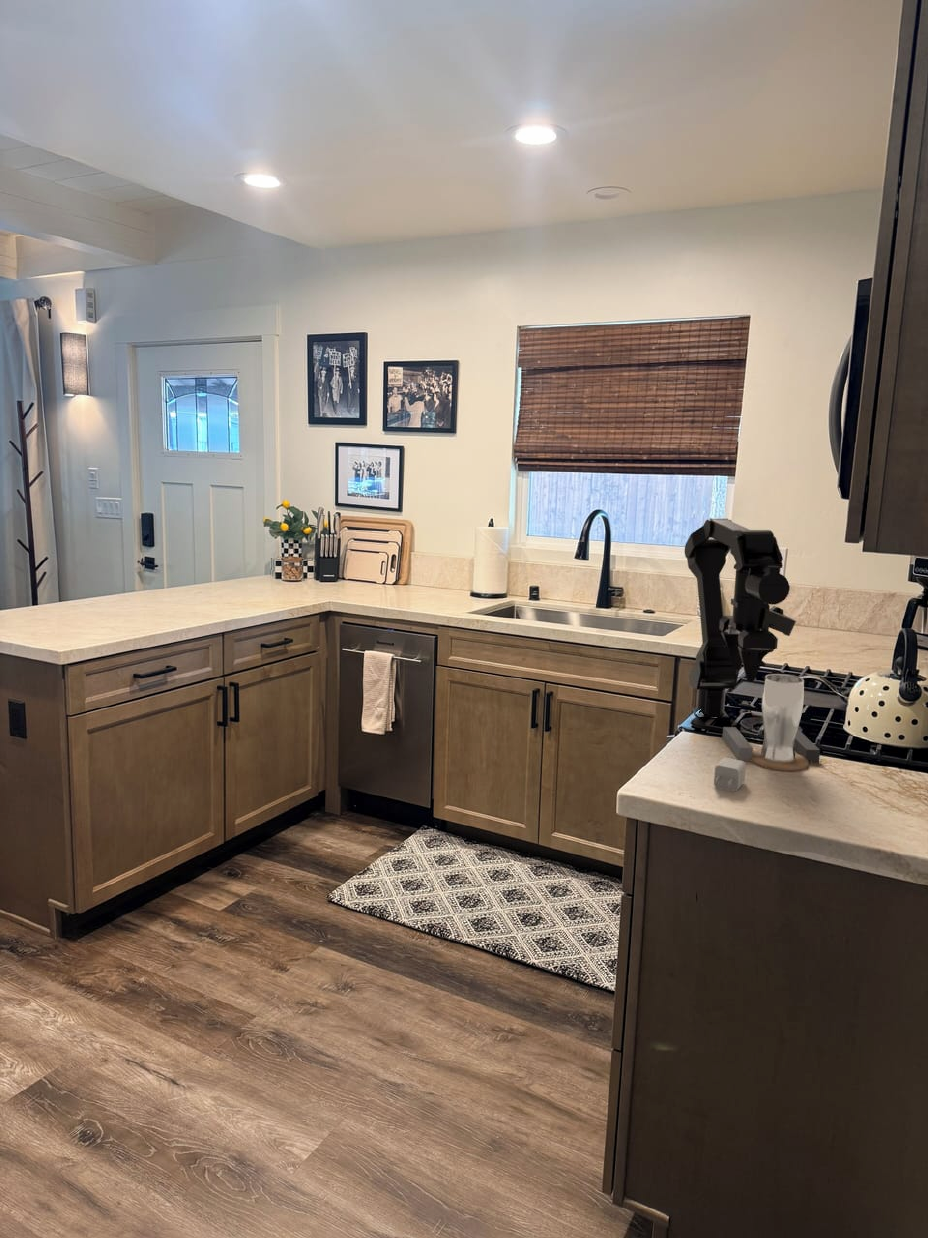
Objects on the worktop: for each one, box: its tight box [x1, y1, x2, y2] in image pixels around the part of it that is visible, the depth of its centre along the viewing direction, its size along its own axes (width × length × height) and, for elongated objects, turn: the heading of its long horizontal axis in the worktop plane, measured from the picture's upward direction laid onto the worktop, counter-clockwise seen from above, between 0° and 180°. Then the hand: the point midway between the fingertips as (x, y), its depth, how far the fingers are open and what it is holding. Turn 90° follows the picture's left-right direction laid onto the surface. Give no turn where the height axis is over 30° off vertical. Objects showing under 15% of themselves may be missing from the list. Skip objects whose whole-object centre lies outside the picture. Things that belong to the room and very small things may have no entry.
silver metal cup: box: [760, 673, 805, 764], centre depth 151 cm, size 7×7×15 cm
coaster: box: [751, 748, 809, 772], centre depth 152 cm, size 10×10×1 cm
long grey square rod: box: [795, 729, 821, 763], centre depth 157 cm, size 12×2×2 cm, turn 177°
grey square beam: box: [721, 726, 754, 762], centre depth 158 cm, size 12×2×2 cm, turn 177°
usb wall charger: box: [713, 757, 747, 792], centre depth 139 cm, size 4×7×4 cm, turn 148°
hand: (743, 675), depth 162 cm, fingers open, 9 cm apart
